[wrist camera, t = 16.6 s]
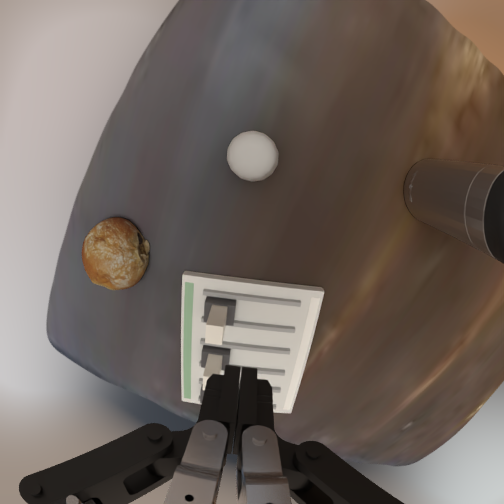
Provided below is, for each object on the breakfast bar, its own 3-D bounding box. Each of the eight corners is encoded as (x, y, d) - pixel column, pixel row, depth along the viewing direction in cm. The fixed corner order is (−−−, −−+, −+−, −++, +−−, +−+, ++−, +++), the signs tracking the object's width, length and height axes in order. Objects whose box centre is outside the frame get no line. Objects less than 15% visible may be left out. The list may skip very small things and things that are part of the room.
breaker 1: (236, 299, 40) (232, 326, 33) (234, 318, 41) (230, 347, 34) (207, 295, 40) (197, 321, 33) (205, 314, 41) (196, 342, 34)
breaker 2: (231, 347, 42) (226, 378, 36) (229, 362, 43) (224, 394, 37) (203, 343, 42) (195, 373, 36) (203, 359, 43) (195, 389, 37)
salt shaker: (248, 188, 37) (242, 204, 25) (221, 152, 36) (201, 148, 24) (286, 162, 36) (301, 164, 24) (259, 125, 35) (260, 107, 22)
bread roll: (161, 263, 44) (165, 270, 37) (107, 298, 42) (101, 313, 34) (128, 207, 42) (125, 203, 34) (73, 243, 39) (59, 247, 32)
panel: (322, 287, 41) (325, 294, 39) (290, 407, 48) (291, 416, 46) (185, 270, 41) (181, 276, 38) (183, 395, 48) (181, 403, 46)
